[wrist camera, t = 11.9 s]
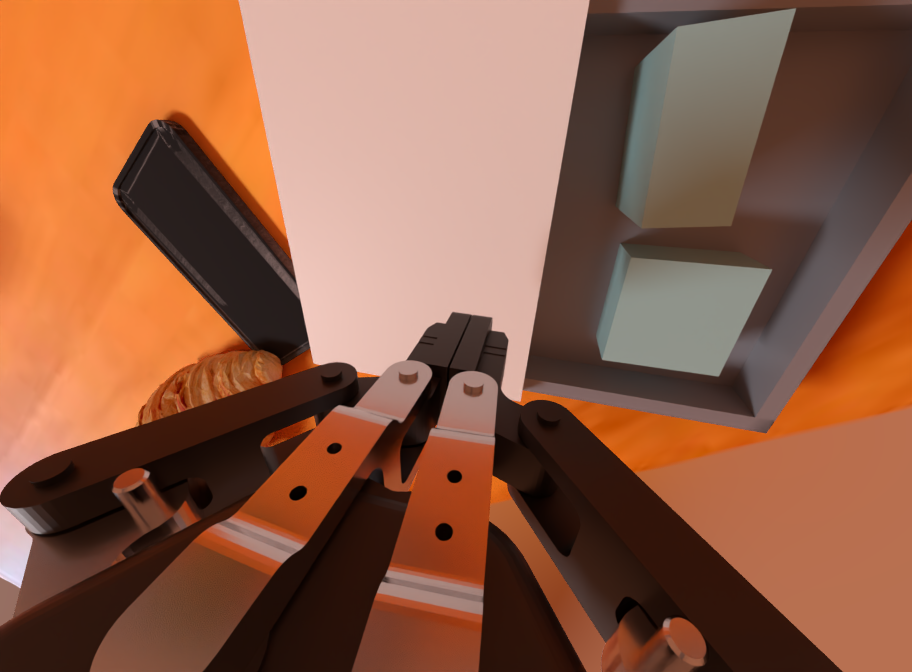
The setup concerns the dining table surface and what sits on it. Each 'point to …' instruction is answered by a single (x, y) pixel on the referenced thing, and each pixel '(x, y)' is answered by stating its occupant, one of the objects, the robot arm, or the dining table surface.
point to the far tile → (677, 306)
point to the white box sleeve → (415, 162)
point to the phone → (212, 239)
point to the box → (759, 207)
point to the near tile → (698, 120)
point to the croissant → (212, 383)
